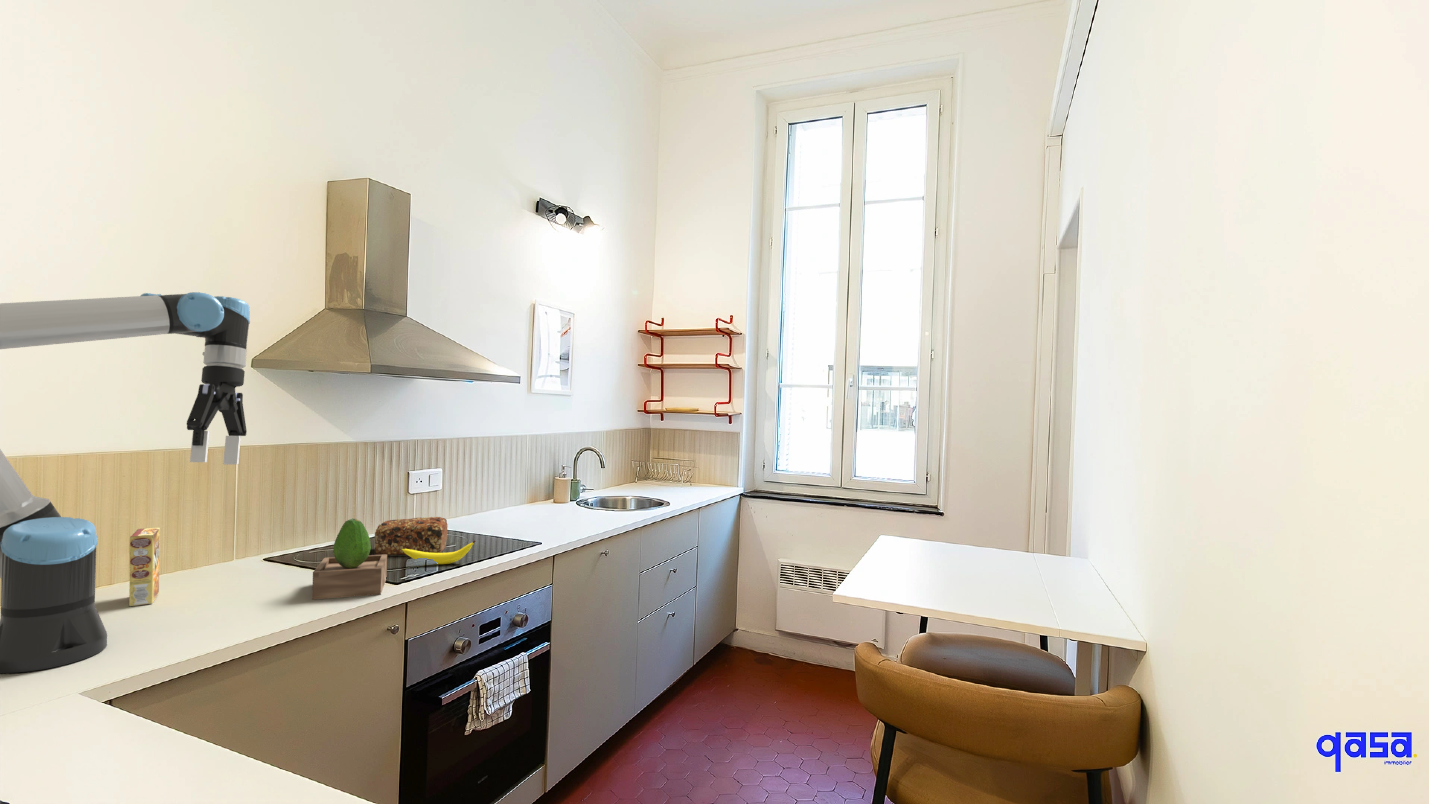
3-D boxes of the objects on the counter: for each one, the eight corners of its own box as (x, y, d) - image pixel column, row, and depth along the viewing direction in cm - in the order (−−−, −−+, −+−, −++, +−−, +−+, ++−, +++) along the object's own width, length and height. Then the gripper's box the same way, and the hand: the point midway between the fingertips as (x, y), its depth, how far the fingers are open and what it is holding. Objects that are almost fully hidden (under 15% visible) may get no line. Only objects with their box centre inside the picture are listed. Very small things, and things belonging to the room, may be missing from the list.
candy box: (153, 604, 143) (154, 534, 143) (127, 607, 141) (129, 536, 141) (159, 593, 151) (161, 526, 150) (135, 596, 148) (136, 528, 148)
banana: (401, 565, 180) (402, 542, 180) (474, 561, 187) (475, 539, 187) (400, 568, 178) (401, 545, 178) (475, 564, 184) (475, 541, 184)
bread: (447, 546, 204) (448, 514, 204) (441, 555, 194) (442, 521, 194) (382, 547, 200) (383, 515, 200) (372, 556, 190) (373, 522, 190)
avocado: (345, 573, 153) (346, 522, 153) (326, 568, 157) (327, 518, 157) (377, 566, 160) (378, 517, 160) (358, 561, 164) (359, 514, 164)
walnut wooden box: (380, 594, 155) (381, 568, 155) (312, 599, 150) (312, 572, 150) (386, 578, 168) (387, 554, 168) (323, 582, 163) (324, 557, 163)
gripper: (232, 376, 157) (224, 465, 154) (171, 355, 132) (161, 461, 130) (267, 377, 158) (260, 465, 156) (214, 357, 134) (204, 461, 131)
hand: (215, 463), depth 143 cm, fingers open, 13 cm apart
